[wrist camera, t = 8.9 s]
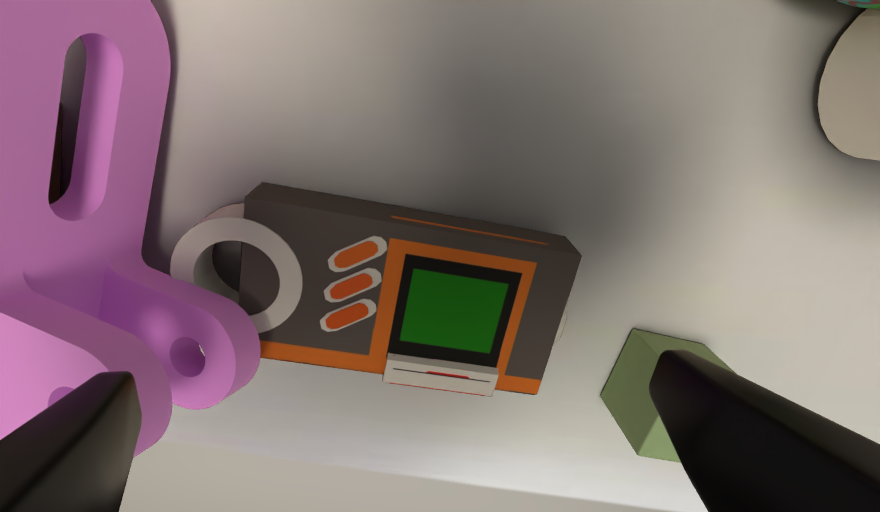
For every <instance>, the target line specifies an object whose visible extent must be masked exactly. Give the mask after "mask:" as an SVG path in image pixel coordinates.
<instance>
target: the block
mask: <svg viewBox="0 0 880 512" xmlns="http://www.w3.org/2000/svg"><path fill="white" fill-rule="evenodd" d="M674 349H684V350H688V351H690V352H692V353H694V354H696V355H698V356H700V357H702V358H704V359H706V360H708V361H710V362H712V363H714V364H716V365H719V366H721V367H723V368H725V369H727V370H729V371H731V372H733V373H735V372H734V371H733V370H732V369H731V368H730V367H728V366H727V365H726V364H725V363H724V362H723V361H722V360H721V359H720V358H718V357H717V356H716V355H715V354H714V353H713V352H712V351H711V350H710V349H709V348H707V347H706V346H705V345H704V344H699V343H695V342H690V341H686V340H681V339H677V338H672V337H668V336H663V335H659V334H655V333H650V332H646V331H641V330H637V329H633V330H632V331H631V334H630V336H629V338H628V340H627V342H626V344H625V346H624V348H623V350H622V352H621V354H620V356H619V358H618V361H617V363H616V365H615V367H614V369H613V371H612V373H611V375H610V377H609V379H608V381H607V383H606V386H605V388H604V390H603V392H602V394H601V398H602V400H603V402H604V403H605V405H606V406H607V408H608V409H609V411H610V413H611V414H612V416H613V417H614V419H615V421H616V422H617V424H618V425H619V427H620V428H621V430H622V432H623V433H624V435H625V436H626V438H627V440H628V441H629V443H630V444H631V446H632V447H633V449H634V451H635V452H636V454H637V455H639V456H644V457H650V458H656V459H662V460H668V461H674V462H680V463H681V461H680V459H679V457H678V455H677V453H676V451H675V449H674V447H673V444H672V442H671V440H670V438H669V436H668V434H667V431H666V429H665V427H664V425H663V423H662V421H661V418H660V416H659V414H658V412H657V410H656V408H655V406H654V403H653V401H652V399H651V397H650V393H649V383H650V380H651V377H652V374H653V372H654V369H655V367H656V364H657V361H658V359H659V356H660V354H661V353H662V352H663V351H665V350H674ZM735 374H736V373H735Z"/></svg>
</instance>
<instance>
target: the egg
mask: <svg viewBox="0 0 880 512" xmlns="http://www.w3.org/2000/svg"><path fill="white" fill-rule="evenodd" d="M836 1H839V2H841V3H844V4H847V5H850V6H855V7H861V8H873V9H880V0H836Z"/></svg>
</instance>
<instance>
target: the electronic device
mask: <svg viewBox="0 0 880 512" xmlns="http://www.w3.org/2000/svg"><path fill="white" fill-rule="evenodd" d="M228 240H234V241H242V251H241V267H240V283H239V292H237V291H235V290H233V289H232V288H230V287H228V286H227V285H226V284H225V283H224V282H223V281H222V280H221V279H220V277H219V276H218V275H217V273H216V271H215V269H214V266H213V262H212V251H213V246H214V244H215V243H218V242H221V241H228ZM581 257H582V255H581V254H580V253H579V252H578V250H577V249H576V248H575V247H574V246H573V245H572V243H571V242H570V241H569V240H568V239H567V238H566V236H561V235H555V234H550V233H544V232H539V231H533V230H527V229H522V228H516V227H510V226H505V225H499V224H494V223H488V222H482V221H477V220H471V219H466V218H460V217H454V216H449V215H443V214H438V213H432V212H426V211H421V210H415V209H409V208H404V207H398V206H393V205H387V204H381V203H376V202H370V201H365V200H359V199H353V198H348V197H342V196H336V195H331V194H325V193H320V192H314V191H308V190H303V189H297V188H292V187H286V186H280V185H275V184H269V183H263V182H262V183H261V184H260V185H259V186H257V187H256V188H255V189H254V190H253V191H251V192H250V193H249V194H248V195H247V196H245V203H241V204H232V205H228V206H225V207H222V208H219V209H218V210H216V211H214V212H212V213H211V214H209V215H208V216H207V217H205V218H204V219H203V220H201V221H200V222H199V223H198V224H196V225H195V226H194V227H192V228H191V229H190V230H189V231H188V232H187V233H186V234H184V235H183V236H182V237H181V239H180V240H179V242H178V243H177V245H176V246H175V249H174V251H173V254H172V257H171V264H170V274H171V278H173V279H177V280H182V281H186V282H188V283H191V284H193V285H196V286H198V287H201V288H203V289H206V290H208V291H211V292H213V293H216V294H218V295H221V296H223V297H226V298H228V299H230V300H232V301H233V302H235V303H236V304H238V305H239V306H240V307H241V308H242V309H243V310H244V311H245V312H246V313H247V314H248V316H249V317H250V318H251V320H252V322H253V324H254V326H255V328H256V330H257V333H258V336H259V341H260V349H261V351H260V358H267V359H274V360H281V361H289V362H296V363H303V364H311V365H318V366H326V367H333V368H340V369H348V370H355V371H362V372H370V373H377V374H383V379H382V382H385V383H392V384H400V385H407V386H414V387H422V388H429V389H437V390H444V391H452V392H459V393H467V394H474V395H481V396H489V397H491V396H492V395H493V392H494V390H502V391H509V392H516V393H524V394H531V395H535V394H537V392H538V389H539V386H540V383H541V380H542V377H543V374H544V371H545V368H546V365H547V362H548V359H549V356H550V353H551V349H552V346H553V344H554V343H555V342H556V341H558V340H559V339H560V337H561V334H562V331H563V328H564V325H565V322H566V319H567V300H568V297H569V294H570V291H571V288H572V285H573V282H574V279H575V276H576V273H577V269H578V266H579V263H580V260H581Z"/></svg>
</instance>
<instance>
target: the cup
mask: <svg viewBox="0 0 880 512" xmlns="http://www.w3.org/2000/svg"><path fill="white" fill-rule="evenodd" d="M818 109H819V116H820V122H821V126H822V128H823V130H824V132H825V134H826V136H827V138H828V140H829V141H830V142H831V143H832V144H833V145H834V146H836V147H837V148H838V149H839V150H840V151H841V152H843V153H846V154H848V155H851V156H853V157H856V158H863V159H872V160H880V9H873V8H868V9H867V10H865V11H864V12H863V13H862V14H860V15H859V16H858V17H857V18H856V19H855V21H854V22H853V23H852V24H851V25H850V26H849V28H848V29H847V30H846V31H845V32H844V33H843V35H842V36H841V37H840V39H839V41H838V42H837V44H836V46H835V48H834V49H833V51H832V53H831V55H830V56H829V58H828V60H827V63H826V66H825V69H824V72H823V75H822V78H821V81H820V88H819V98H818Z"/></svg>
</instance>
